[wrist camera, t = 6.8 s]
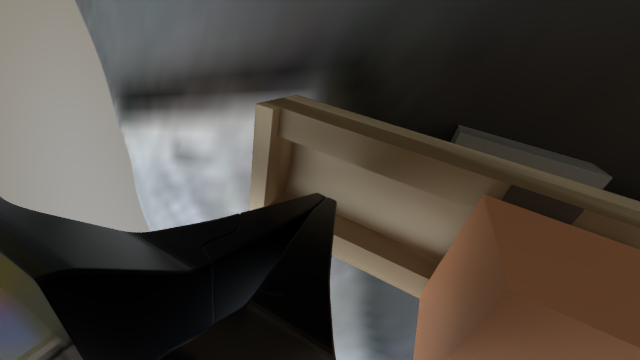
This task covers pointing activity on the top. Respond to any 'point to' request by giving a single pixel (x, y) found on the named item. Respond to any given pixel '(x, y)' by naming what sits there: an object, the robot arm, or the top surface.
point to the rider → (530, 292)
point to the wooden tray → (418, 185)
